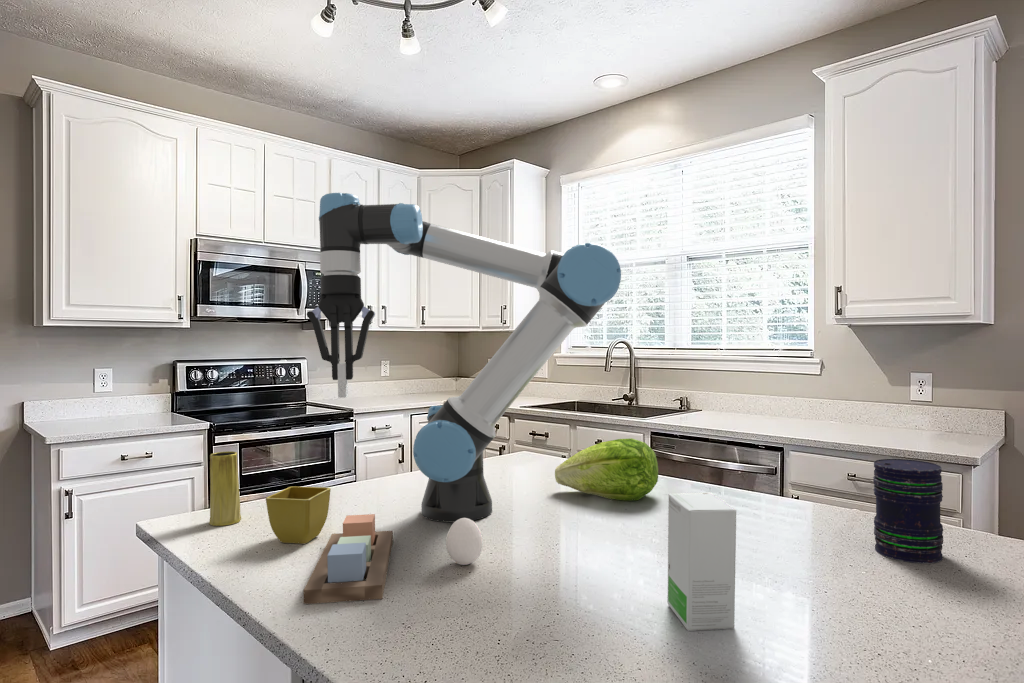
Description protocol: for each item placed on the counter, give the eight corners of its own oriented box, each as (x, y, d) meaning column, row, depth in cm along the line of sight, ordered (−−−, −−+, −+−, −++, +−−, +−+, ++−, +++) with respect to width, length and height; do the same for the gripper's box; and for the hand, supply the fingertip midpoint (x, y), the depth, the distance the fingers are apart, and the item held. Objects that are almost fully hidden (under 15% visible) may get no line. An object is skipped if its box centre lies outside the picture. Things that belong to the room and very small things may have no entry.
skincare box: (666, 604, 87) (665, 492, 87) (713, 602, 88) (711, 490, 88) (688, 633, 79) (686, 509, 79) (739, 630, 80) (737, 507, 79)
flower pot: (309, 549, 113) (308, 499, 113) (265, 546, 115) (264, 497, 115) (332, 533, 122) (331, 487, 122) (291, 531, 124) (290, 486, 124)
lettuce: (565, 456, 161) (545, 435, 149) (661, 447, 152) (647, 425, 141) (564, 512, 154) (543, 495, 142) (665, 507, 145) (651, 488, 133)
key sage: (371, 559, 106) (370, 535, 106) (368, 569, 101) (367, 545, 101) (340, 560, 105) (340, 537, 105) (336, 571, 100) (335, 546, 100)
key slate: (366, 568, 98) (365, 542, 98) (362, 580, 93) (362, 553, 93) (333, 570, 97) (332, 544, 97) (328, 582, 92) (327, 555, 92)
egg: (441, 561, 106) (441, 515, 106) (475, 555, 108) (475, 511, 108) (452, 573, 100) (452, 525, 100) (488, 567, 103) (487, 520, 103)
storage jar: (933, 546, 109) (932, 460, 109) (952, 566, 100) (951, 472, 100) (868, 541, 112) (867, 457, 112) (881, 560, 103) (879, 468, 103)
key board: (393, 541, 117) (393, 530, 117) (382, 598, 91) (382, 584, 91) (332, 544, 115) (331, 533, 115) (303, 604, 90) (303, 590, 90)
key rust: (375, 536, 114) (374, 514, 114) (372, 545, 109) (372, 522, 109) (346, 537, 113) (346, 515, 113) (343, 546, 108) (342, 523, 108)
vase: (214, 528, 127) (212, 457, 127) (205, 522, 131) (203, 453, 131) (245, 522, 131) (244, 453, 131) (235, 516, 135) (234, 449, 135)
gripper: (376, 277, 127) (378, 394, 127) (309, 277, 125) (312, 396, 125) (373, 273, 119) (375, 397, 119) (302, 273, 118) (304, 399, 118)
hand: (343, 396), depth 122 cm, fingers closed
